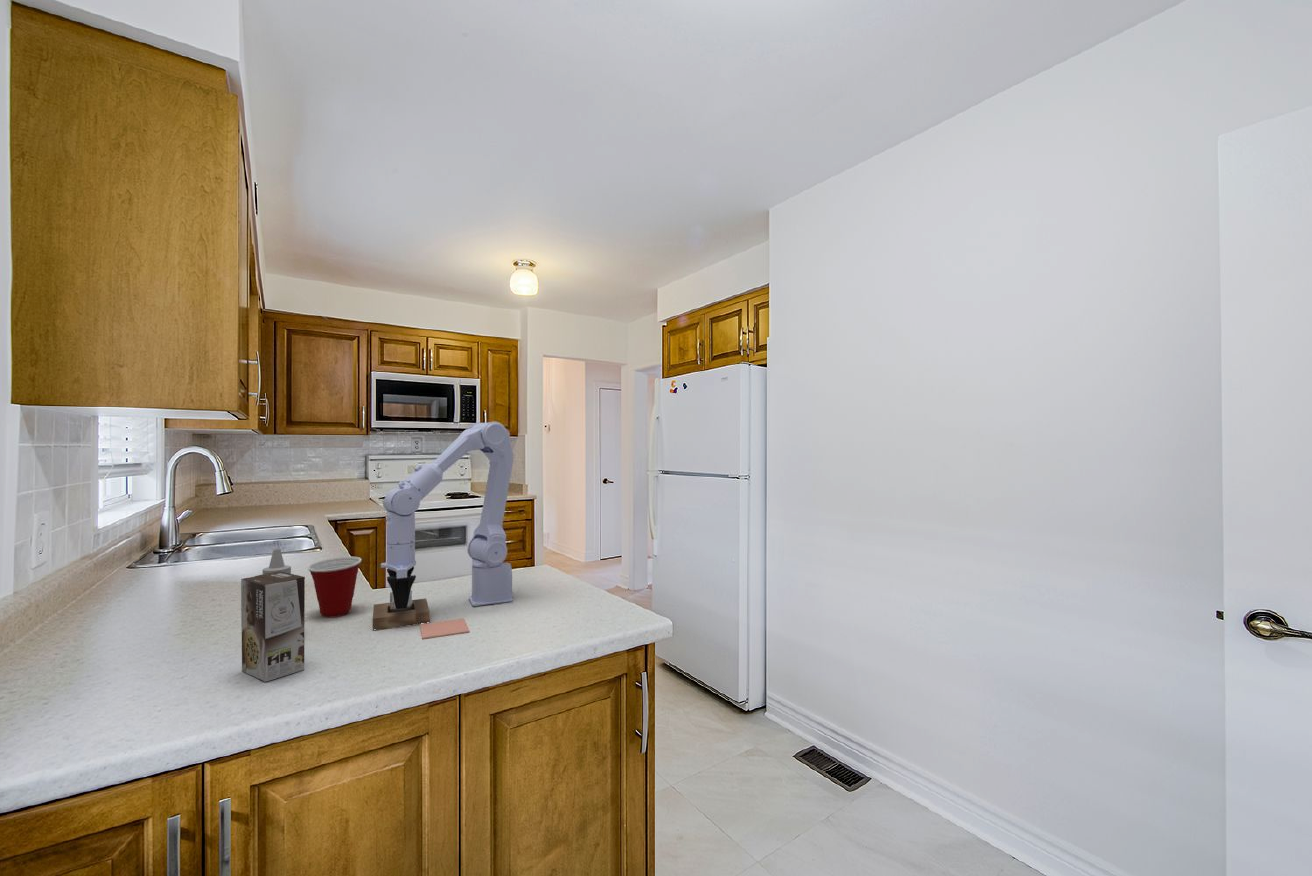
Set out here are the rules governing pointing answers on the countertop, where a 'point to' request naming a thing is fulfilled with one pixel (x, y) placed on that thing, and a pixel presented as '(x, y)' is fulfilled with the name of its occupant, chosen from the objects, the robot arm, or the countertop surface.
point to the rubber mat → (443, 628)
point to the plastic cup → (335, 584)
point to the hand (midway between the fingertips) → (401, 603)
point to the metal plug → (393, 609)
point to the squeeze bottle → (277, 563)
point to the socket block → (400, 615)
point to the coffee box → (272, 625)
